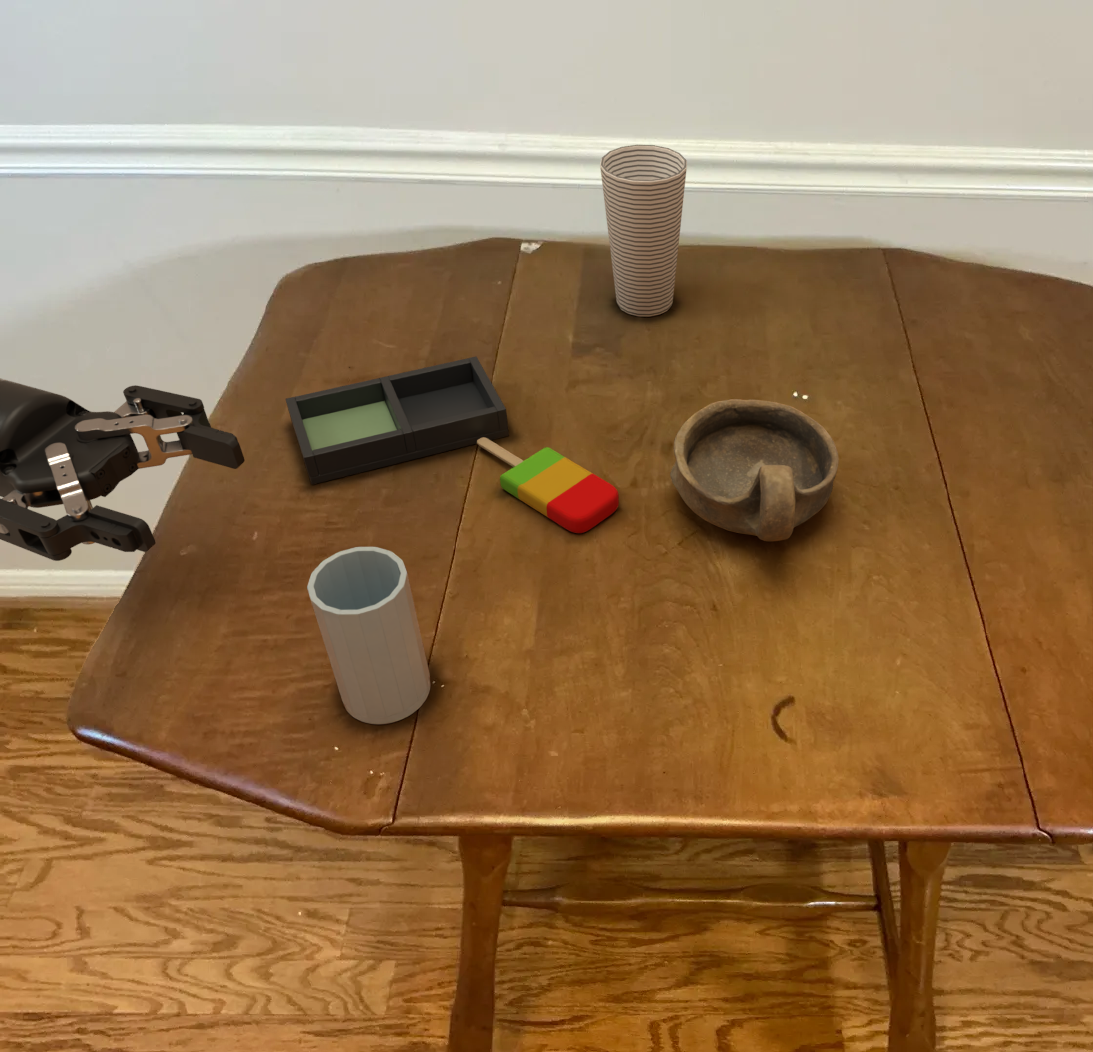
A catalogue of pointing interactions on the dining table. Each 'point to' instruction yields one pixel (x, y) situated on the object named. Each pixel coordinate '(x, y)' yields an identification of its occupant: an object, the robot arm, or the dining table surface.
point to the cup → (643, 224)
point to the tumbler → (371, 633)
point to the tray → (396, 419)
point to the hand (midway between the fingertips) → (195, 493)
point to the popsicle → (557, 487)
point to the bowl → (754, 466)
